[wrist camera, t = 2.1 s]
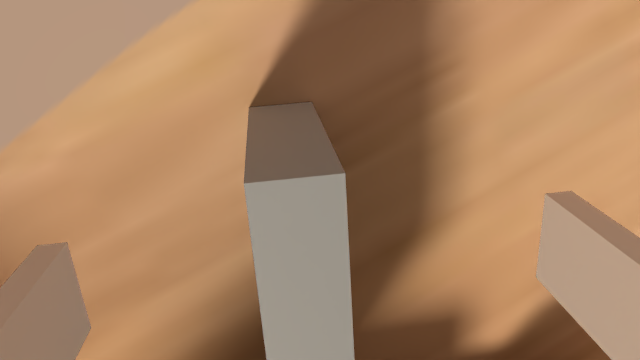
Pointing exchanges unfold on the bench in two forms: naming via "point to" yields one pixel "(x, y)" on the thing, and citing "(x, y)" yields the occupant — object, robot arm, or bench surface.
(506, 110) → the bench surface
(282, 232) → the notched plate
